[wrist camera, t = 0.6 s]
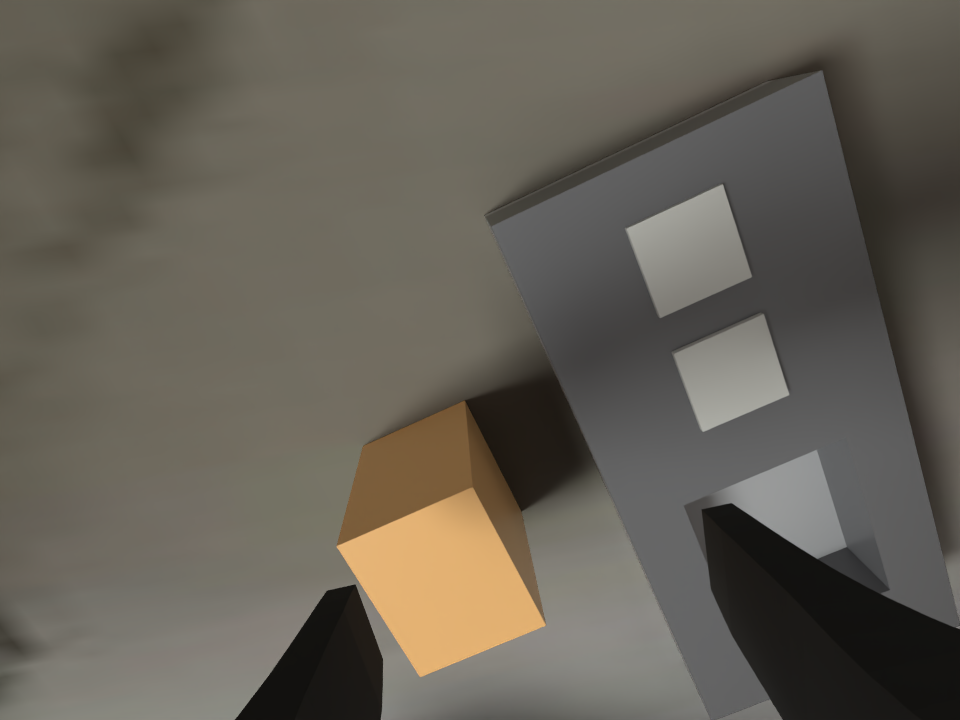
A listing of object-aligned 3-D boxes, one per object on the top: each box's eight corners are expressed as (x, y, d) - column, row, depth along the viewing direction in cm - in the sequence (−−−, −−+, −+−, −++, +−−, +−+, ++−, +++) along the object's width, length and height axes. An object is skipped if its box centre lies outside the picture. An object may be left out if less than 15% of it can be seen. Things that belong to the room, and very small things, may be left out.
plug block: (425, 552, 24) (420, 676, 18) (363, 445, 23) (336, 546, 17) (521, 510, 24) (546, 625, 18) (464, 399, 22) (472, 486, 17)
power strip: (683, 659, 26) (713, 726, 23) (484, 215, 20) (491, 227, 17) (902, 572, 26) (964, 629, 23) (766, 81, 19) (826, 69, 16)
